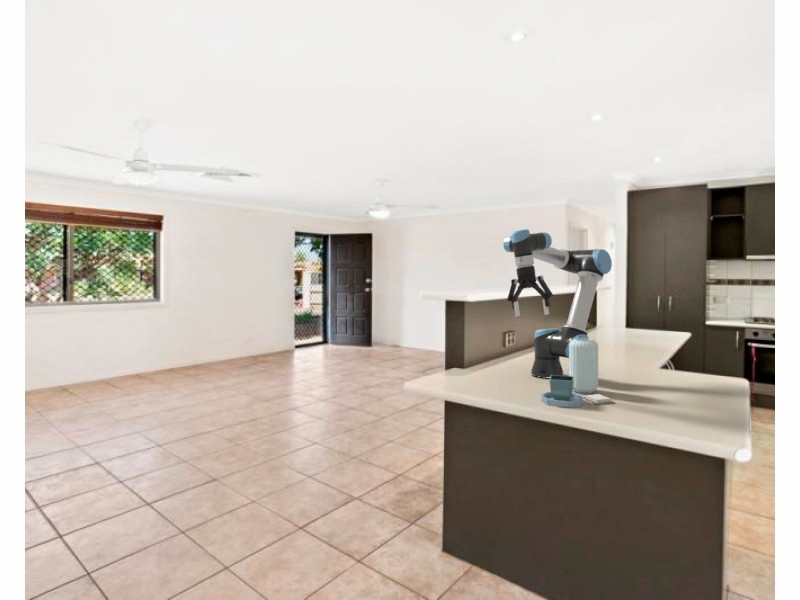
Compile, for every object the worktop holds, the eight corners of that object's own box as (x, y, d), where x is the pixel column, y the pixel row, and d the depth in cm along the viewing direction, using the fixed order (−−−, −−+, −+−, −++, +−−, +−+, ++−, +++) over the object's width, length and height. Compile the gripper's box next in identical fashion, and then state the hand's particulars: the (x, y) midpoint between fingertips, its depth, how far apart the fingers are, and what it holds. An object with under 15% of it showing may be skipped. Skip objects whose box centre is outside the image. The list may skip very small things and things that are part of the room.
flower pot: (573, 398, 189) (573, 376, 188) (573, 404, 180) (573, 380, 180) (550, 396, 192) (550, 374, 191) (549, 402, 183) (549, 379, 183)
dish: (534, 398, 192) (534, 393, 191) (567, 395, 195) (567, 390, 195) (555, 408, 177) (555, 402, 177) (591, 405, 180) (591, 399, 180)
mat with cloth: (581, 398, 190) (581, 394, 190) (598, 396, 192) (598, 393, 192) (597, 405, 181) (597, 401, 181) (615, 403, 183) (615, 399, 182)
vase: (584, 395, 194) (584, 342, 193) (563, 390, 204) (563, 338, 203) (604, 392, 199) (604, 339, 198) (582, 386, 210) (582, 336, 208)
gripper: (495, 270, 208) (502, 318, 209) (548, 263, 191) (555, 315, 192) (504, 269, 214) (510, 315, 215) (556, 261, 197) (563, 312, 197)
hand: (532, 315), depth 203 cm, fingers open, 13 cm apart
